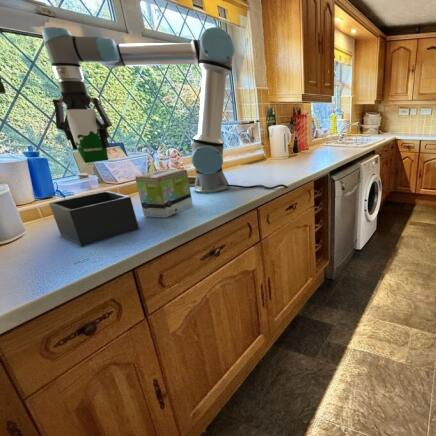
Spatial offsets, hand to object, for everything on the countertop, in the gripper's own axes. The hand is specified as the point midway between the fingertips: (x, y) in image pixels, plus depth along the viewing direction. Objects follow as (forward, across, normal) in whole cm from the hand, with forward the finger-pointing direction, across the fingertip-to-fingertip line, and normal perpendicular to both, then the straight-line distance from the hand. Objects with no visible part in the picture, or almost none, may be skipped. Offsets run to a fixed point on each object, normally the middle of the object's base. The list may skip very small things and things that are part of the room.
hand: (91, 148), depth 110 cm
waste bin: (+24, +8, -27) cm, 37 cm away
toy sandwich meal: (+24, +26, +35) cm, 49 cm away
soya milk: (+5, 0, 0) cm, 5 cm away
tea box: (+24, +24, -10) cm, 36 cm away
